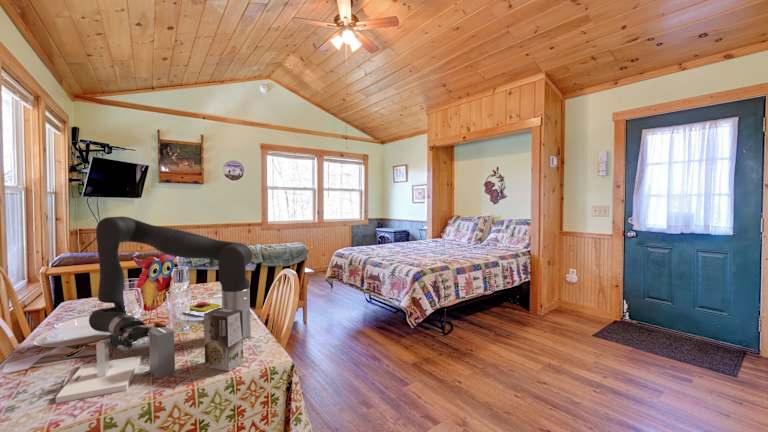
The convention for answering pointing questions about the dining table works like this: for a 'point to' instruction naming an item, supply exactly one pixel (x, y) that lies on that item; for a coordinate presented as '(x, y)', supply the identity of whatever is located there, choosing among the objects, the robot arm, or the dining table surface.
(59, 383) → the dining table surface
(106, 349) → the post
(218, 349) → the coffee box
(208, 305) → the emergency button
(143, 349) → the dining table surface
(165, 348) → the tall gray prism
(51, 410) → the dining table surface
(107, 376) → the shaft base
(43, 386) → the dining table surface
